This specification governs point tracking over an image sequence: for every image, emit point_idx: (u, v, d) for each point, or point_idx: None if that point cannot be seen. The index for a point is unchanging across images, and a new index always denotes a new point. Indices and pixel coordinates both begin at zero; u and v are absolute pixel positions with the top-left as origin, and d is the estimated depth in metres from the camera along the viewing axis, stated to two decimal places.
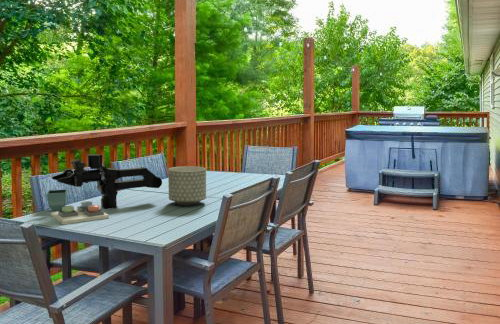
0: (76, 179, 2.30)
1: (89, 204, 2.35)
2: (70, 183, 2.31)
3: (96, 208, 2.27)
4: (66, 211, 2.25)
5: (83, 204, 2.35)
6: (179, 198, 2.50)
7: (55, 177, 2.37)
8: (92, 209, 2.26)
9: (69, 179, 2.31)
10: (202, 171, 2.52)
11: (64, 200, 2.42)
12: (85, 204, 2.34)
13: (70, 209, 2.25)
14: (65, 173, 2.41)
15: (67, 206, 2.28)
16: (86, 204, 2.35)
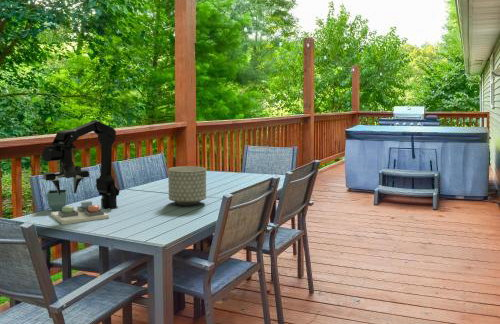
0: None
1: (89, 204, 2.35)
2: None
3: (96, 208, 2.27)
4: (66, 211, 2.25)
5: (83, 204, 2.35)
6: (179, 198, 2.50)
7: None
8: (92, 209, 2.26)
9: None
10: (202, 171, 2.52)
11: (64, 200, 2.42)
12: (85, 204, 2.34)
13: (70, 209, 2.25)
14: None
15: (67, 206, 2.28)
16: (86, 204, 2.35)
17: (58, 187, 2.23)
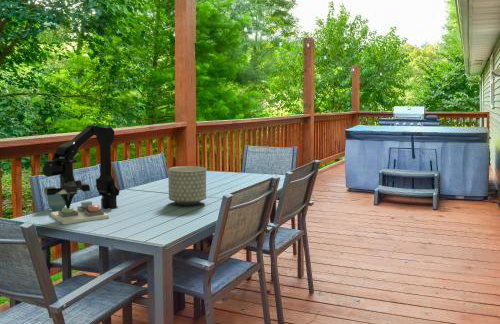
0: None
1: (89, 204, 2.35)
2: None
3: (96, 208, 2.27)
4: (66, 212, 2.25)
5: (83, 204, 2.35)
6: (179, 198, 2.50)
7: None
8: (92, 209, 2.26)
9: None
10: (202, 171, 2.52)
11: None
12: (85, 204, 2.34)
13: (70, 210, 2.25)
14: None
15: None
16: (86, 204, 2.35)
17: (66, 200, 2.25)
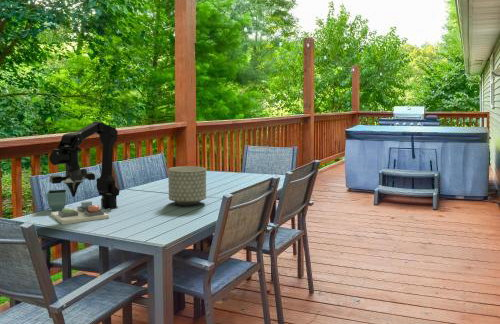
0: None
1: (89, 204, 2.35)
2: None
3: (96, 208, 2.27)
4: None
5: (83, 204, 2.35)
6: (179, 198, 2.50)
7: None
8: (92, 209, 2.26)
9: None
10: (202, 171, 2.52)
11: (64, 200, 2.42)
12: (85, 204, 2.34)
13: (70, 211, 2.26)
14: None
15: (67, 208, 2.28)
16: (86, 204, 2.35)
17: (72, 189, 2.25)
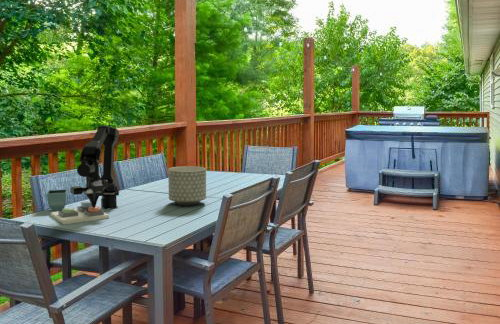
0: None
1: (89, 204, 2.35)
2: None
3: (96, 209, 2.27)
4: None
5: (83, 204, 2.35)
6: (179, 198, 2.50)
7: None
8: (92, 210, 2.27)
9: None
10: (202, 171, 2.52)
11: (64, 200, 2.42)
12: (85, 204, 2.34)
13: (70, 211, 2.26)
14: None
15: (67, 208, 2.28)
16: (86, 204, 2.35)
17: (92, 200, 2.27)
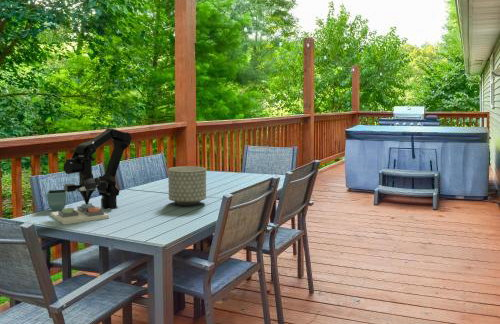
0: None
1: (89, 206, 2.35)
2: None
3: (96, 210, 2.27)
4: None
5: (83, 206, 2.35)
6: (179, 198, 2.50)
7: None
8: (92, 211, 2.27)
9: None
10: (202, 171, 2.52)
11: (64, 200, 2.42)
12: (85, 206, 2.35)
13: (70, 211, 2.26)
14: None
15: (67, 208, 2.28)
16: (86, 206, 2.35)
17: (85, 197, 2.35)
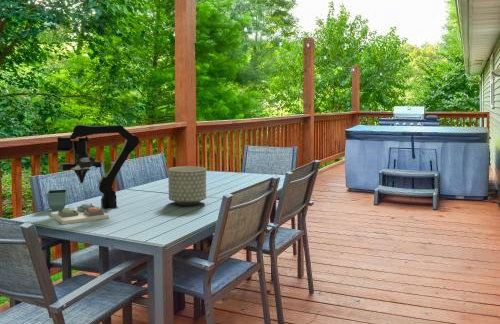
0: None
1: (89, 206, 2.35)
2: None
3: (96, 210, 2.27)
4: None
5: (83, 206, 2.35)
6: (179, 198, 2.50)
7: None
8: (92, 211, 2.27)
9: None
10: (202, 171, 2.52)
11: (64, 200, 2.42)
12: (85, 206, 2.35)
13: (70, 211, 2.26)
14: None
15: (67, 208, 2.28)
16: (86, 206, 2.35)
17: (80, 176, 2.42)
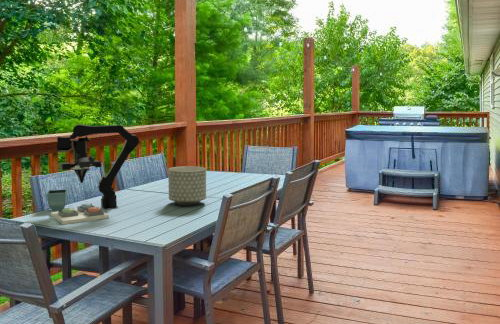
0: None
1: (89, 206, 2.35)
2: None
3: (96, 210, 2.27)
4: None
5: (83, 206, 2.35)
6: (179, 198, 2.50)
7: None
8: (92, 211, 2.27)
9: None
10: (202, 171, 2.52)
11: (64, 200, 2.42)
12: (85, 206, 2.35)
13: (70, 211, 2.26)
14: None
15: (67, 208, 2.28)
16: (86, 206, 2.35)
17: (80, 176, 2.43)
